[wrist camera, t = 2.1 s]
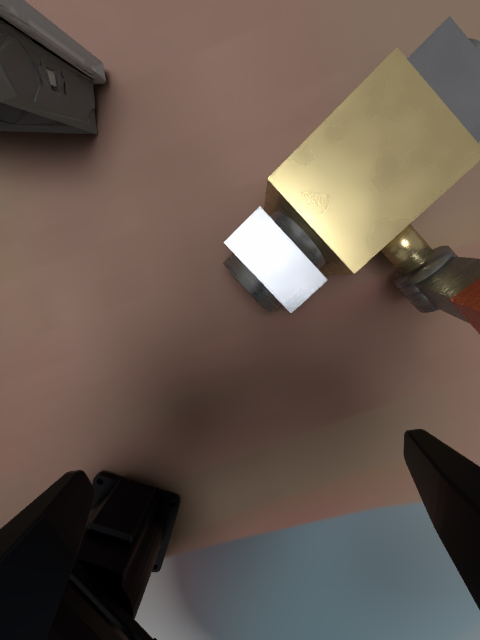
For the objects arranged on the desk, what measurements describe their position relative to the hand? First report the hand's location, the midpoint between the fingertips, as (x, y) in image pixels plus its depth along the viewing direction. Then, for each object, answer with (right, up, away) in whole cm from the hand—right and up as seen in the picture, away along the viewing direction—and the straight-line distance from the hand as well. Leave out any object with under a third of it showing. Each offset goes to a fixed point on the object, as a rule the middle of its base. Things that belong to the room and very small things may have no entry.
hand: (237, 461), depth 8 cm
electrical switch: (-12, +17, +11) cm, 24 cm away
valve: (+7, +10, +10) cm, 16 cm away
